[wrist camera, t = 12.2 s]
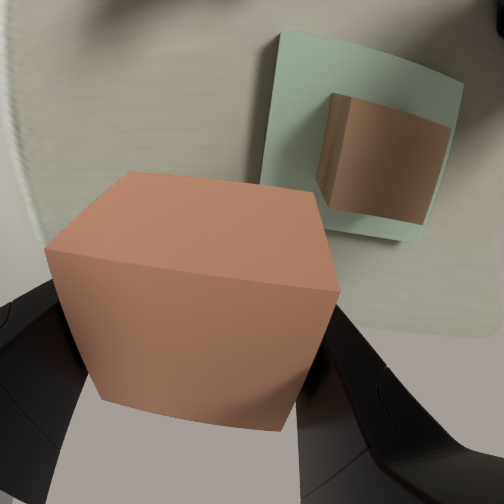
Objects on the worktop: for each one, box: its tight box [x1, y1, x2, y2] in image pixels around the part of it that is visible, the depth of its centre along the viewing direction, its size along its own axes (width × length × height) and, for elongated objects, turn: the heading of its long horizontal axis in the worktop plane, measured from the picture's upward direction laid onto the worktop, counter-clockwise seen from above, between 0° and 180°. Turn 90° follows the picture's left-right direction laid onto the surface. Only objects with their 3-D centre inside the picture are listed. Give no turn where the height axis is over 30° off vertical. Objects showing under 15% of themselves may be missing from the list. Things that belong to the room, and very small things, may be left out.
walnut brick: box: [316, 93, 451, 225], centre depth 14 cm, size 5×5×4 cm
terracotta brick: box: [44, 172, 340, 432], centre depth 8 cm, size 5×5×4 cm
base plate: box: [259, 29, 464, 244], centre depth 16 cm, size 11×11×2 cm
